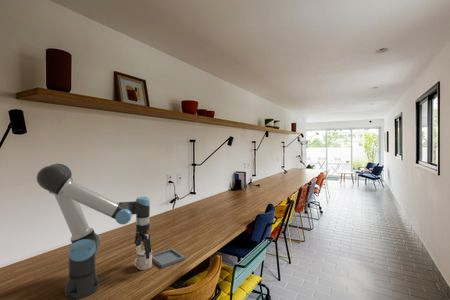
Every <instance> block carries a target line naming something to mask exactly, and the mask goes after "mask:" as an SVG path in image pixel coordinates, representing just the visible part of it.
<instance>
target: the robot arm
mask: <svg viewBox="0 0 450 300" xmlns="http://www.w3.org/2000/svg"><path fill="white" fill-rule="evenodd" d="M72 174H73V173H72V170H71V168H70V167H69V166H67V165H66V164H64V163H52V164H50V165H46V166H44V167H43V168H41V169H40V170H39V171H38V172H37V175H36V182H37V184H38V185H39V187H41V188H42V189H43V190H45V191H47V192H49V194H51V195H54V197H55V199H56V202H57V204H58V206H59V209H60V210H61V213H62V215H63V217H64V220H65V223H66V224H67V227H68V229H69V232H70V233H71V237H70V238H69V239H70V242H71V245H70V246H69V249H68V278H67V281H66V284H65V288H64V296H65V297H66V298H68V299H71V300H72V299H74V300H75V299H82V298H86V297H88V296H90V295H92V294H94V293H95V292H97V291H98V289H99V288H100V278H99V276H98V275H97V272H96V266H97V265H96V261H97V260H96V259H97V258H96V257H97V254H98V251H99V248H100V246H101V239H100V236H99V235H98V234H97V232H95V230H94V228H93V227H90V226H89V223H88V221H87V219H86V217H85V214H84V212H83V210H82V208H81V205H84V206H86V207H87V208H90V209H93V210H94V211H96V212H98V213H101V214H103V215H105V216H107V217H110V218H111V219H114V220H115V221H116V223H118V224H119V225H127V224H128V223H130V221H131V219H132V217H133V215H135V216H136V217H135V223H136V225H135V237H134V242H133V243H134V245H135V253H136V254H135V258H137V251H139V250H140V249H142V245H143V247H144V249H145V253H144V264H145V265H146V264H149V253H151V252H152V253H153V250H152V246H151V236H150V234H148V231H150V219H151V216H150V213H151V211H150V210H151V209H150V208H151V207H150V205H151V204H150V203H151V202H150V201H151V200H150V198H149V197H148V196H139V197H137V198H136V199H135V201H133V200H132V201H119V202H116V201H114V200H111V198H110V199H109V198H107V197H106V196H104V195H101V194H99V193H97V192H95V191H93V190H91V189H89V188H87V187H85V186H84V185H82V184H79V183H77V182H75V181H74V180H73V177H72V176H73V175H72ZM80 204H81V205H80ZM151 250H152V251H151Z"/></svg>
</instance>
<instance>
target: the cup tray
mask: <svg viewBox="0 0 450 300" xmlns="http://www.w3.org/2000/svg"><path fill="white" fill-rule="evenodd" d="M185 260H186V256H185V255H183V254H182V253H180V252H179V251H177V250H176V249H174V248H169V249H166V250H162V251H158V252H156V253H152V262H153V263H155V264H156V265H157V266H158V267H160V269H164V268H167V267H169V266H171V265H174V264H177V263H180V262H183V261H185Z"/></svg>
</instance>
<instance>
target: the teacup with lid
mask: <svg viewBox="0 0 450 300" xmlns="http://www.w3.org/2000/svg"><path fill="white" fill-rule="evenodd" d="M151 251H152V252H151V253H149V264H146V265H145V264H144V253H145V249H144V246H143V247H142V248H141V249H140V250H139V251H137V257H135V259H134V260H133V265H134V266H135V267H136V268H137V269H138V270H140V271H145V270H149V269H150V268H152V266H153V261H152V254H153V250H152V249H151Z"/></svg>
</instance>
